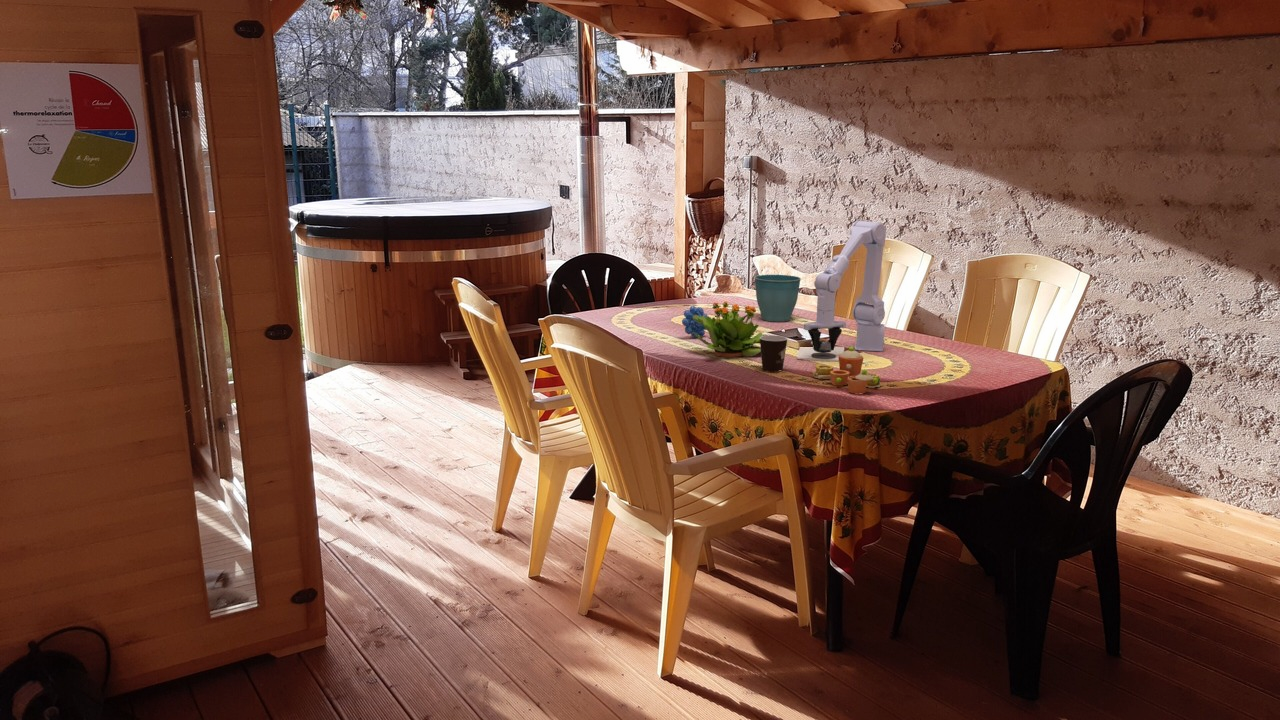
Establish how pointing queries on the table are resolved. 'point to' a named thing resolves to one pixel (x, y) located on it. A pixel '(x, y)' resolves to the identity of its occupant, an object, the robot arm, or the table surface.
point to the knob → (824, 345)
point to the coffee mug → (773, 352)
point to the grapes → (694, 322)
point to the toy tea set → (849, 373)
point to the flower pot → (777, 296)
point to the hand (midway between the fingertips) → (823, 350)
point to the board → (819, 354)
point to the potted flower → (731, 332)
